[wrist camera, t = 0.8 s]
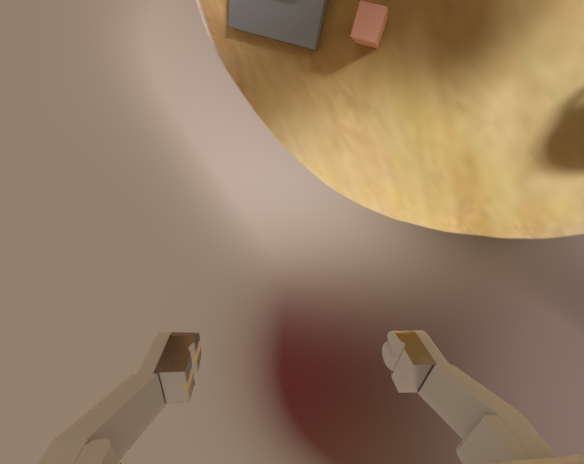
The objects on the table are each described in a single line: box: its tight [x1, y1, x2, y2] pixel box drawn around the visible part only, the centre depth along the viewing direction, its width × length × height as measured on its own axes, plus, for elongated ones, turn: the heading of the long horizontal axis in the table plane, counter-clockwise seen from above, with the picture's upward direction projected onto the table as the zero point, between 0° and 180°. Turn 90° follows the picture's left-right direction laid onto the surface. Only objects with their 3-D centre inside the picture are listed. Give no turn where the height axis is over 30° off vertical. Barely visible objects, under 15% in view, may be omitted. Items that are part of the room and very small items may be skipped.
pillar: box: [350, 0, 388, 49], centre depth 34 cm, size 4×4×8 cm
